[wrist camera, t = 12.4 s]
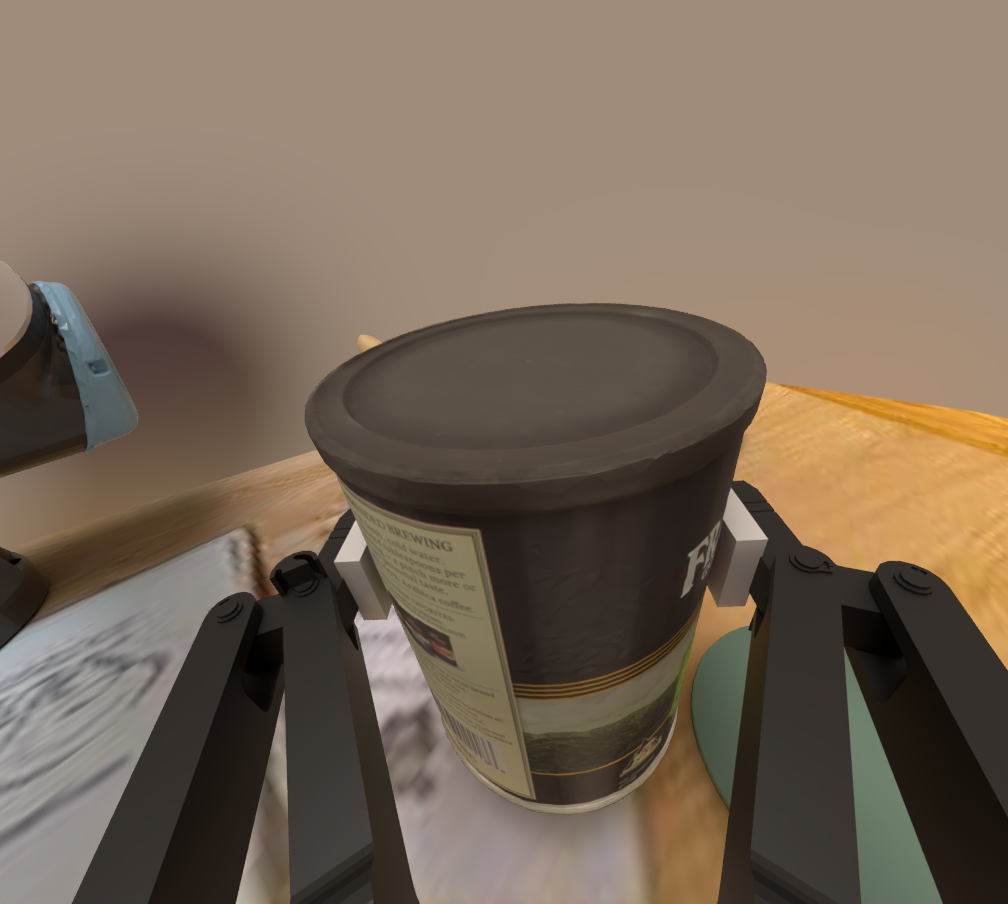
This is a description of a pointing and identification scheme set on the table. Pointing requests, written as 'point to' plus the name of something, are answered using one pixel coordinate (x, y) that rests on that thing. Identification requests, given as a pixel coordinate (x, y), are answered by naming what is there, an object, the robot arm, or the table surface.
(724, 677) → the coaster
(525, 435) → the coffee can
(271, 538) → the table surface
